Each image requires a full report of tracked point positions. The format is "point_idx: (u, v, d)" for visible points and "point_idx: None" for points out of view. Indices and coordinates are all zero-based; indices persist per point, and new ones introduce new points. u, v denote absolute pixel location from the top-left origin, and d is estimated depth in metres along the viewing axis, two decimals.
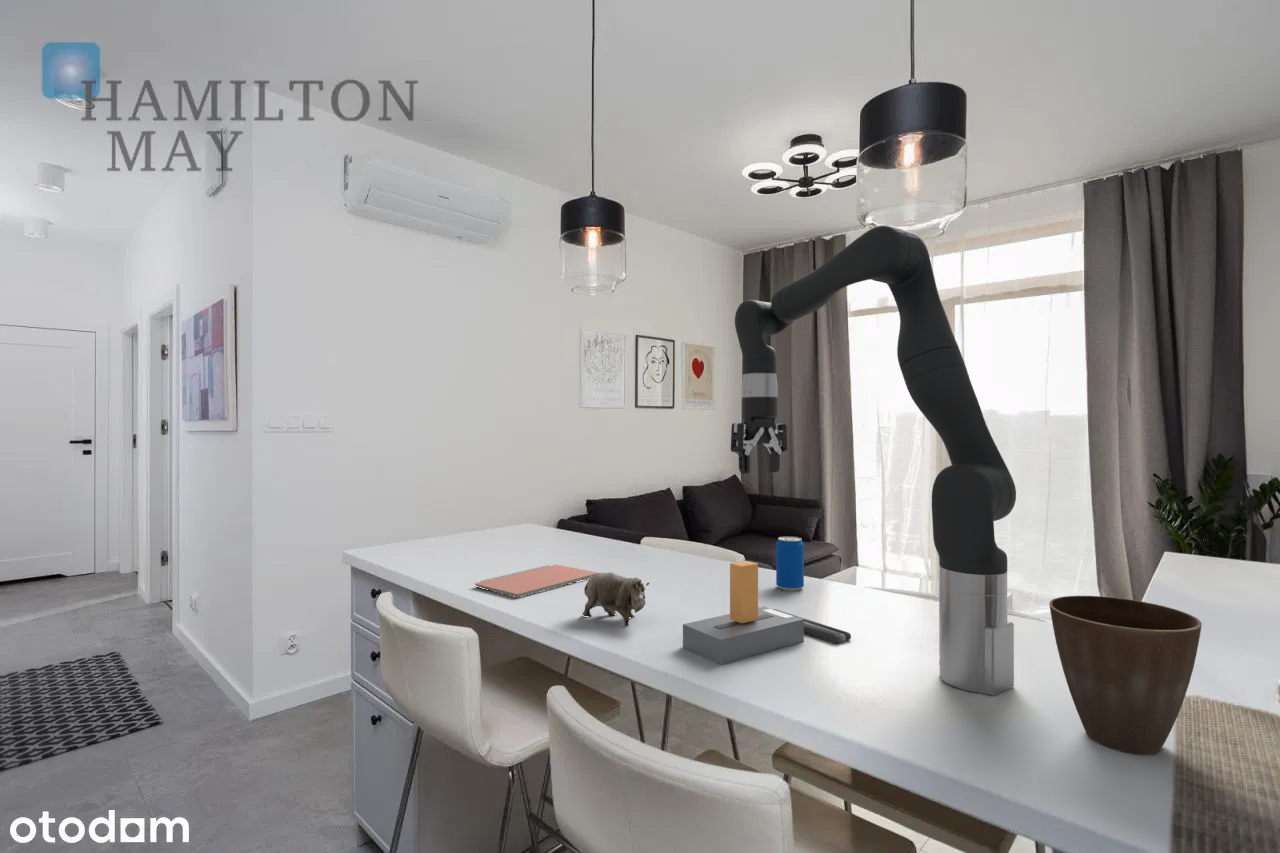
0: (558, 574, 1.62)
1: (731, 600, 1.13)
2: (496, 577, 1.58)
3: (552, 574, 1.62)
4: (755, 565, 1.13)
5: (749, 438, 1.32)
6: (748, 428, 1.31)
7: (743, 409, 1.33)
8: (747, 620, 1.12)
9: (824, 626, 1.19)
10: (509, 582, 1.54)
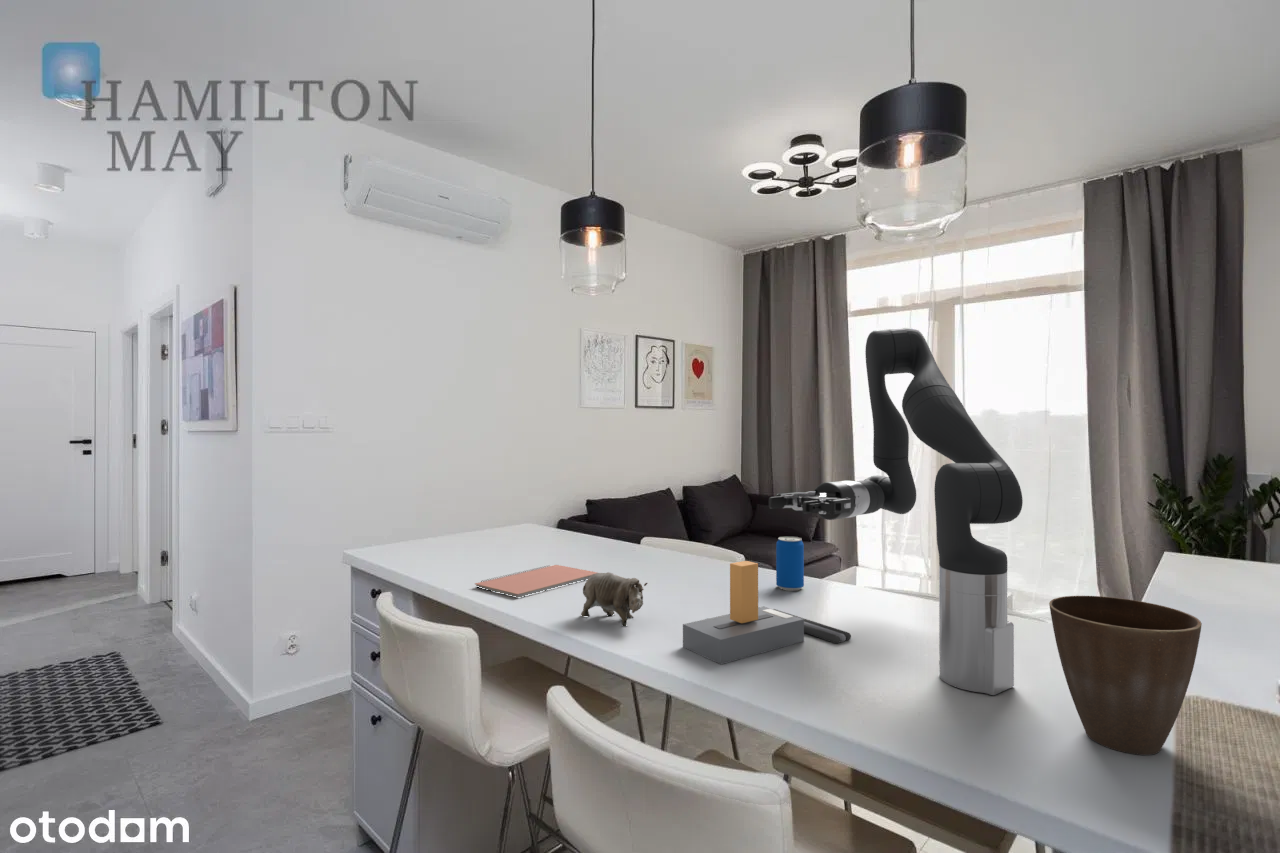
0: (558, 574, 1.62)
1: (731, 600, 1.13)
2: (496, 577, 1.58)
3: (552, 574, 1.62)
4: (755, 565, 1.13)
5: None
6: None
7: None
8: (747, 620, 1.12)
9: (824, 626, 1.19)
10: (509, 582, 1.54)
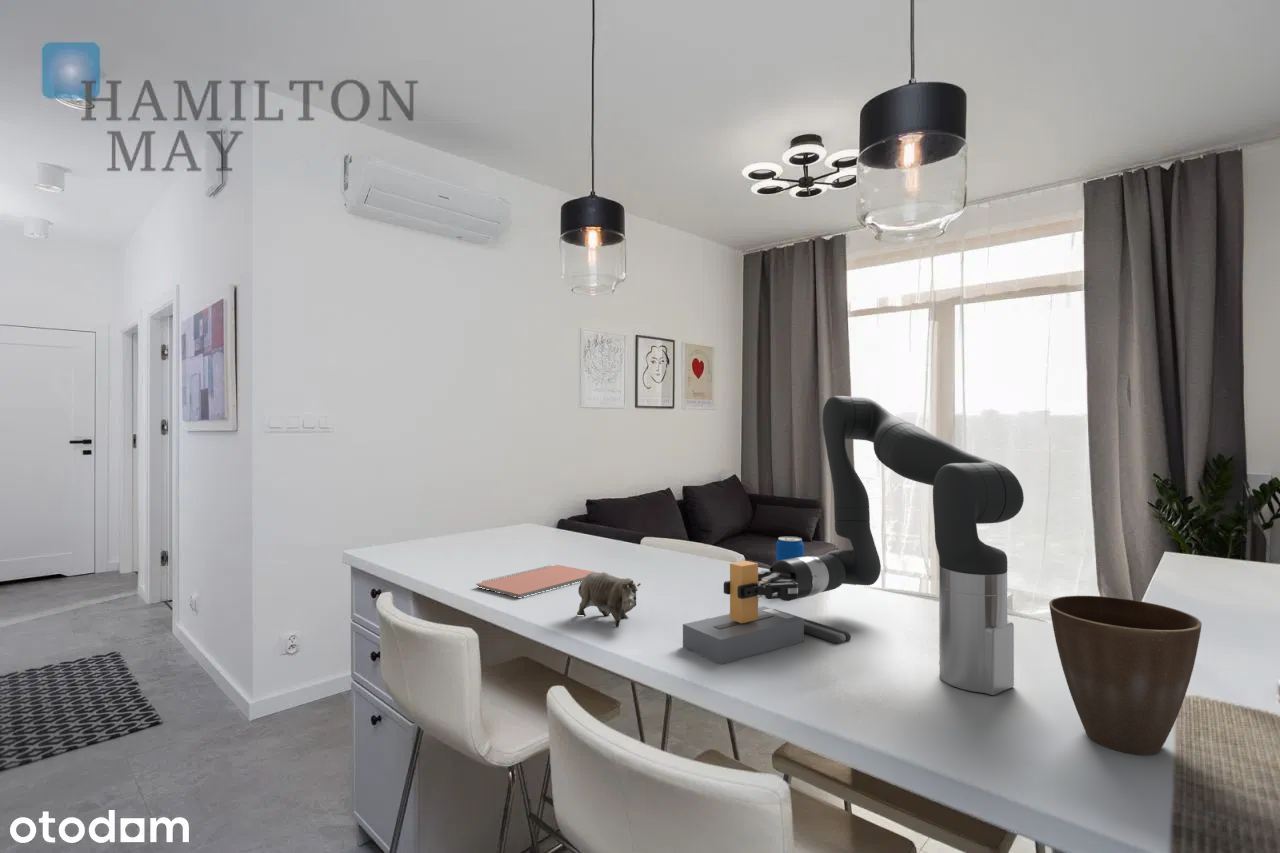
0: (560, 574, 1.62)
1: (731, 600, 1.13)
2: (498, 577, 1.58)
3: (554, 574, 1.62)
4: (755, 565, 1.13)
5: None
6: None
7: None
8: (747, 620, 1.12)
9: (824, 626, 1.19)
10: (511, 582, 1.54)
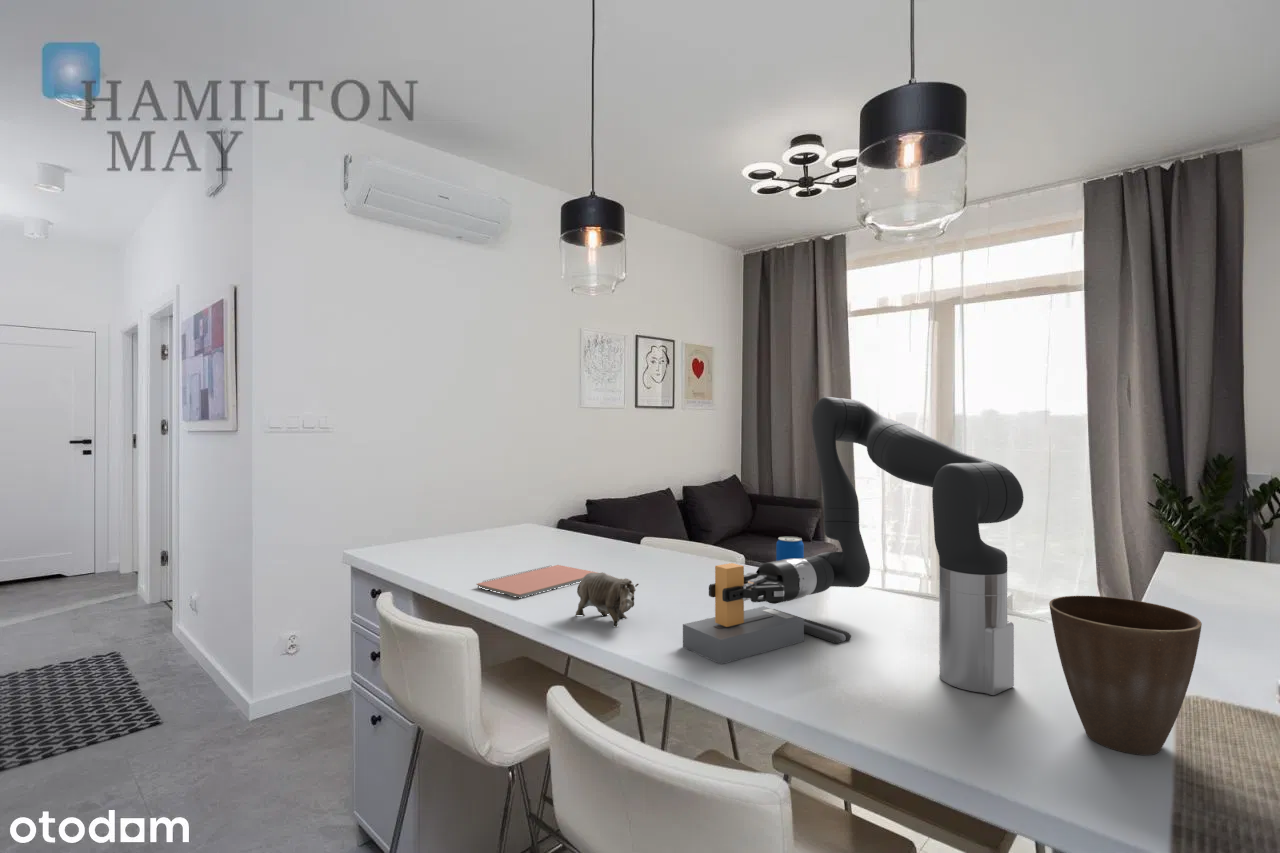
0: (560, 574, 1.62)
1: (716, 603, 1.11)
2: (498, 577, 1.58)
3: (554, 574, 1.62)
4: (741, 567, 1.11)
5: None
6: None
7: None
8: (732, 623, 1.10)
9: (824, 626, 1.19)
10: (511, 582, 1.54)
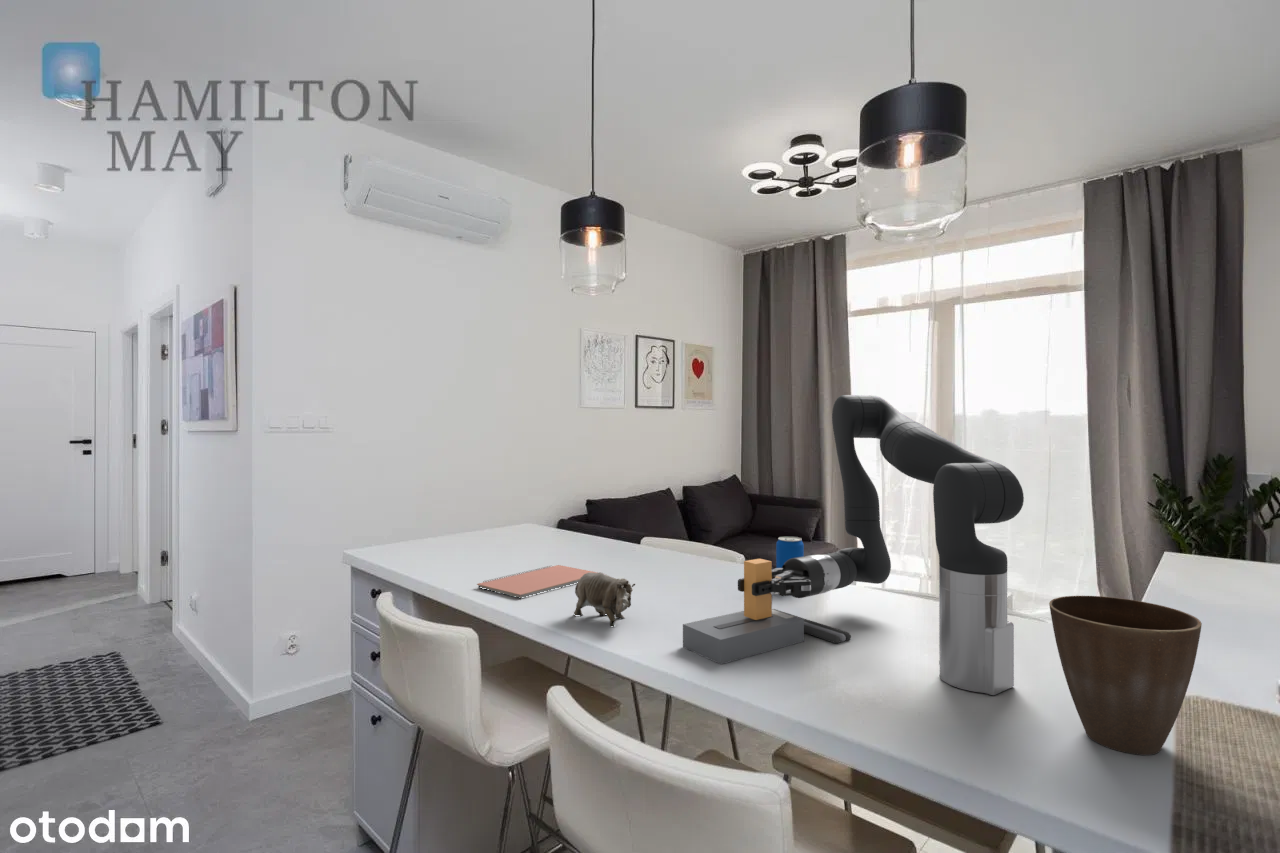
0: (561, 574, 1.62)
1: (745, 597, 1.15)
2: None
3: (555, 574, 1.62)
4: (769, 563, 1.15)
5: None
6: None
7: None
8: (761, 617, 1.14)
9: (824, 626, 1.19)
10: (512, 582, 1.54)
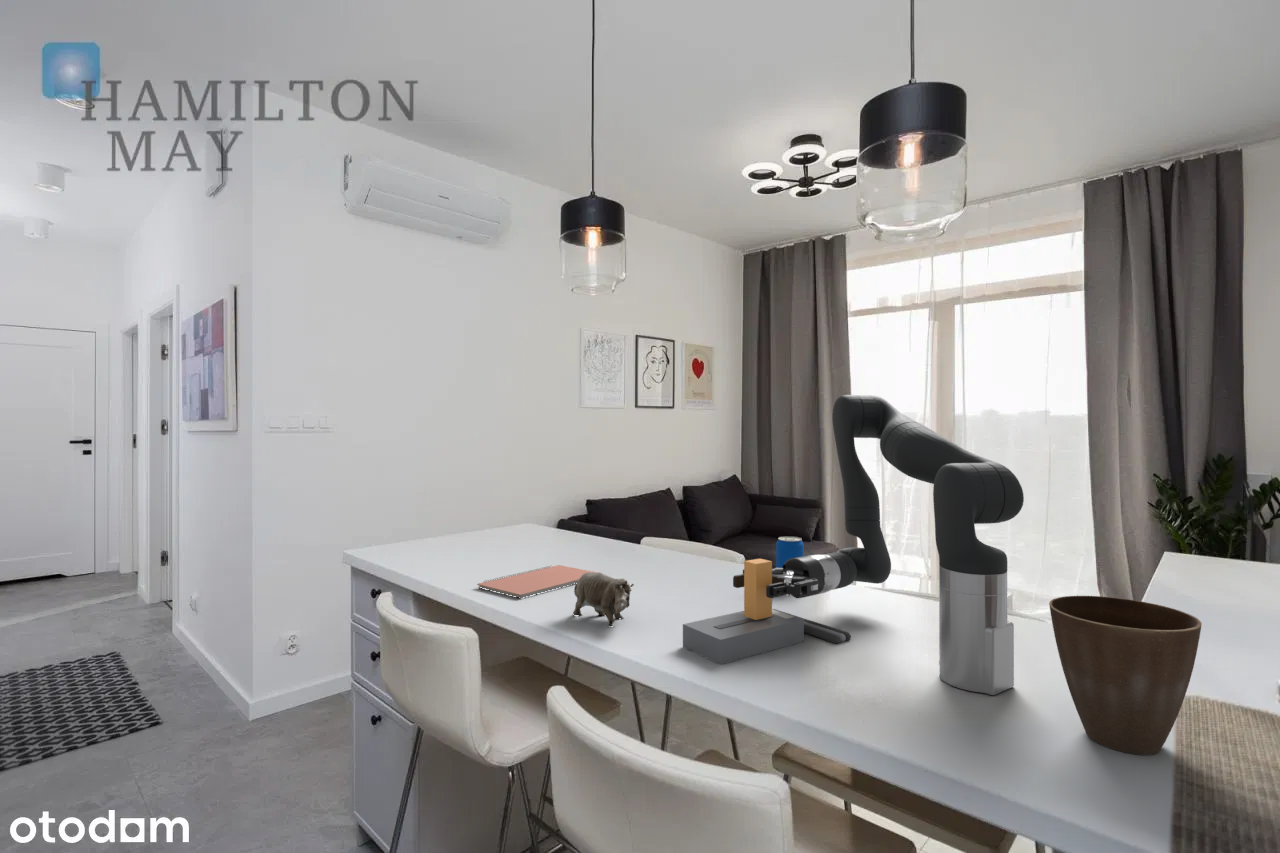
0: (561, 574, 1.62)
1: (745, 597, 1.15)
2: (499, 577, 1.58)
3: (555, 574, 1.62)
4: (769, 563, 1.15)
5: None
6: None
7: None
8: (761, 617, 1.14)
9: (824, 626, 1.19)
10: (512, 582, 1.53)
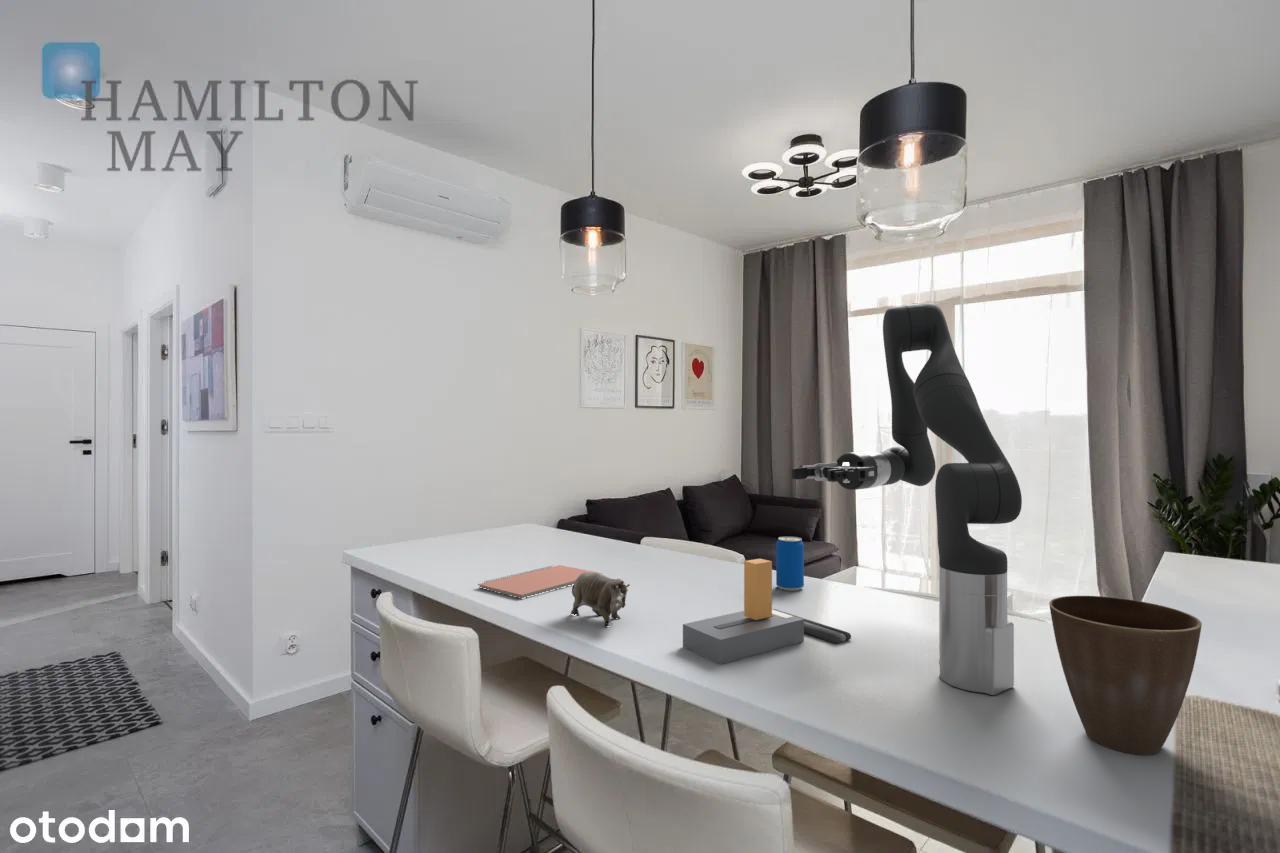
0: (562, 575, 1.62)
1: (745, 597, 1.15)
2: (500, 578, 1.58)
3: (556, 575, 1.62)
4: (769, 563, 1.15)
5: None
6: None
7: None
8: (761, 617, 1.14)
9: (824, 626, 1.19)
10: (513, 583, 1.53)
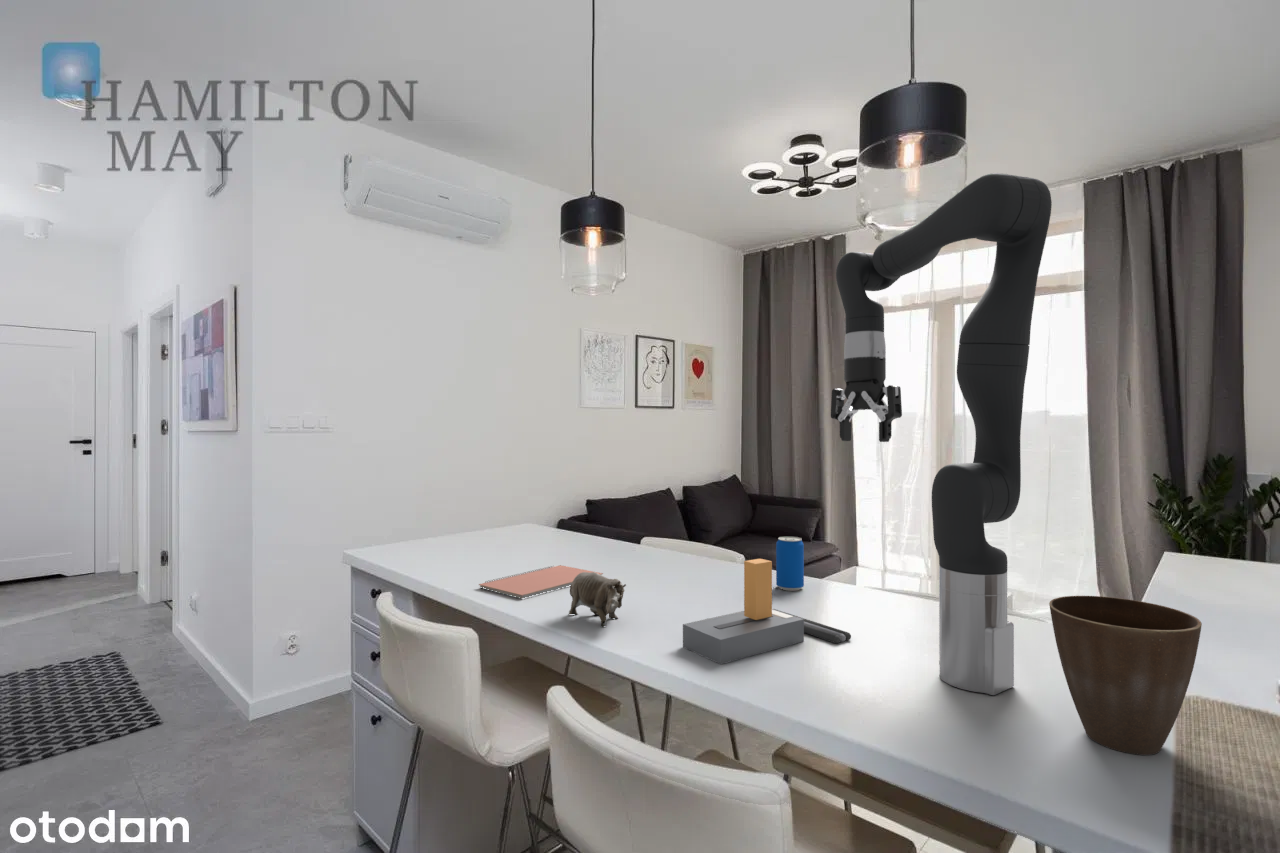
0: (563, 575, 1.62)
1: (745, 597, 1.15)
2: None
3: (556, 575, 1.62)
4: (769, 563, 1.15)
5: None
6: (844, 393, 1.25)
7: None
8: (761, 617, 1.14)
9: (824, 626, 1.19)
10: (513, 583, 1.53)
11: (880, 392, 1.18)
